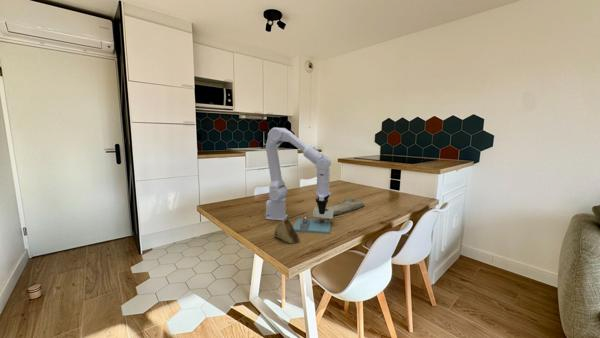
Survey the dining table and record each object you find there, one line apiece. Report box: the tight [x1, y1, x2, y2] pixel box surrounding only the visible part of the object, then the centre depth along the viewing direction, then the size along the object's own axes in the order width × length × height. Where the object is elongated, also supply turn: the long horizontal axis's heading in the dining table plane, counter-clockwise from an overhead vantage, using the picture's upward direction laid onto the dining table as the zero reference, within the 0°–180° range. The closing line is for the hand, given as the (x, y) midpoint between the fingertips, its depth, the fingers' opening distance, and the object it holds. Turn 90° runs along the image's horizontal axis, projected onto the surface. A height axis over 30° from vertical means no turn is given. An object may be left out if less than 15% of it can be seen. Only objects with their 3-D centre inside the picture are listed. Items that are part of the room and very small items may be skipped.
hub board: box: [293, 218, 332, 235], centre depth 114 cm, size 16×14×1 cm
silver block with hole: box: [312, 206, 334, 220], centre depth 117 cm, size 6×9×3 cm, turn 81°
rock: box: [273, 217, 301, 244], centre depth 100 cm, size 11×9×10 cm
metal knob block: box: [300, 216, 311, 230], centre depth 112 cm, size 3×8×5 cm, turn 171°
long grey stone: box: [326, 197, 365, 217], centre depth 138 cm, size 35×5×10 cm
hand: (322, 211), depth 117 cm, fingers closed on silver block with hole, 6 cm apart
